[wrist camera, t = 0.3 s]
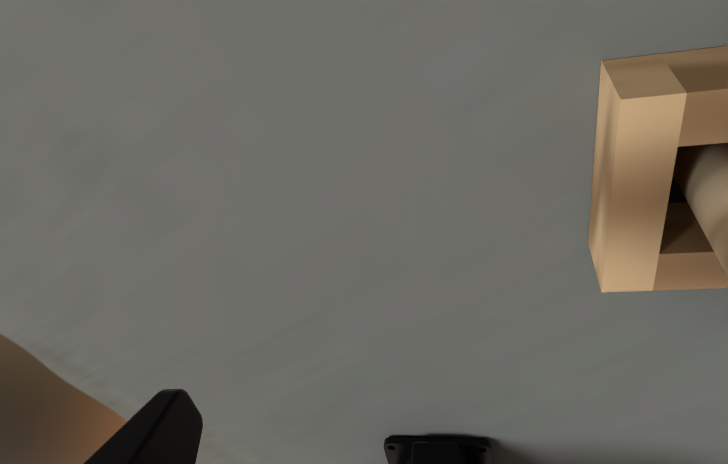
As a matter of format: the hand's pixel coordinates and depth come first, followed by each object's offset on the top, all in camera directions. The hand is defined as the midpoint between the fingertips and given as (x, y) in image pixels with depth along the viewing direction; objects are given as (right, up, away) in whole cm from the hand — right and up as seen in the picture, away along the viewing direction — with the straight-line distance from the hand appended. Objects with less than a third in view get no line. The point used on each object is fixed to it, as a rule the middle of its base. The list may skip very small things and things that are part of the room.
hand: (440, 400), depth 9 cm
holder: (+11, +6, +12) cm, 17 cm away
